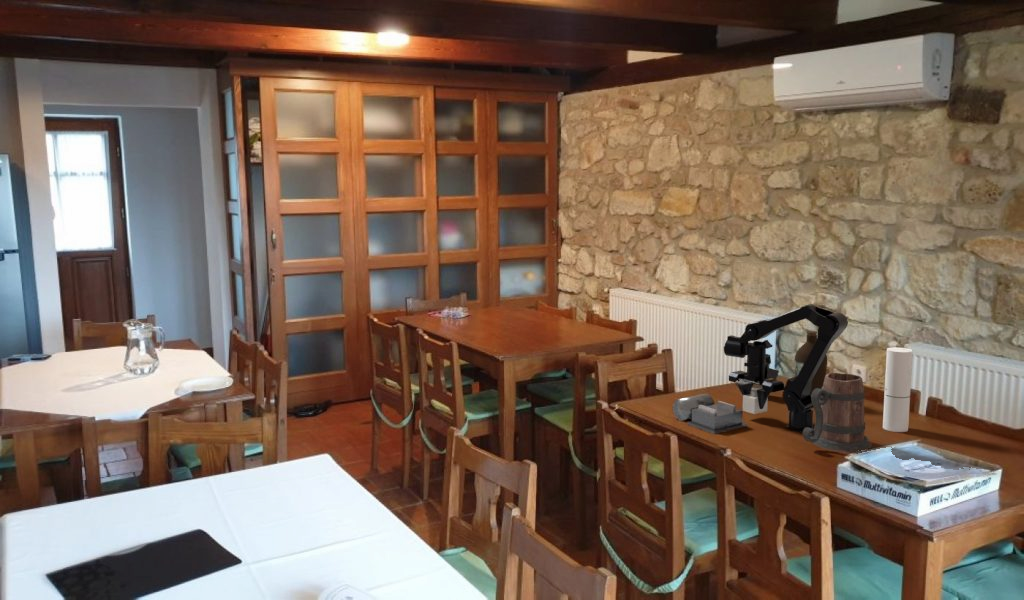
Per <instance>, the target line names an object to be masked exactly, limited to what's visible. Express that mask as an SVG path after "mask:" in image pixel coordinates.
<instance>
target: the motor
mask: <svg viewBox="0 0 1024 600" xmlns="http://www.w3.org/2000/svg"><path fill="white" fill-rule="evenodd" d="M672 411H673V415H674V417H675V418H676V419H677V420H679V421H681V422H682V421H687V420H688V421H687V423H686V424H687V425H689V426H691V427H694V428H696V429H699V430H702V431H704V432H706V433H707V432H708V433H710V434H713V435H716V434H719V433H720V434H721V433H724V432H729V431H734V430H738V429H741V428H745V427H748V426H747V425H748V423H746V422H743V410H741V409H737V405H735V404H731V403H729V402H728V403H727V402H725V401H721V400H718V401H717V403H716V404H715V400H714V398H713V397H712V396H711V395H710V394H708V393H702V394H697V395H692V396H688V397H687V396H686V397H683V398H677V399H675V400H674V401H673V404H672ZM689 420H690V421H689Z"/></svg>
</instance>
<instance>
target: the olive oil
mask: <svg viewBox="0 0 1024 600" xmlns="http://www.w3.org/2000/svg"><path fill="white" fill-rule="evenodd" d="M806 333H807V334H806V341H805V342H804V343H803V344H802V345H801V346H800V347H799V348H798V349H797V350H796V352H795V355H794V377H795V376H798V374H799V372H800V370H801V368H802V366H803V364H804V363H805V361H806V359H807V357H808V355H809V353H810V351H811V349H812V347H813V345H814V344H815V342H816V340H817V334H818V330H807V331H806ZM827 365H828V356H827V354H826V355H825V357H824V359H823V361H822V363H821V365H820V366H819V368H818V370H817V372H816V374H815V376H814V378H813V379H812V386H811V391H810V395H812V392H813V390H814V389H816V388H819V389H821V388H822V387H823V383H824V379H825V375H826V374H827V368H828V367H827Z"/></svg>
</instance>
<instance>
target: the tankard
mask: <svg viewBox="0 0 1024 600" xmlns="http://www.w3.org/2000/svg"><path fill="white" fill-rule="evenodd" d="M863 382H864V381H863V378H862V377H861V376H859V375H857V374H856V375H855V374H852V373H840V372H839V373H838V372H829V373H826V375H825V379H824V383H823V387H822V388H821V389H819V388H816V389H814V390H813V392H812V395H811V401H812V404H813V407H814V408H813V410H814V414H815V421H814V426H813V427H814V429H812V428H809V427H807V428H805V429H804V430H803V432H802V437H803V439H804V441H805V442H809V443H812V444H813V445H814V446H817V447H819V448H823V449H825V450H830V451H837V452H843V453H844V452H845V453H851V452H852V453H856V452H855V451H858V450H859V451H858V452H862V451H861V450H865V449H867V448H870V449H871V448H872V447H871V444H872V443H871V442H870V441H869V438H868V436H866V435H865V430H866V422H865V397H866V390H865V388H864V383H863ZM865 451H866V450H865Z"/></svg>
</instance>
